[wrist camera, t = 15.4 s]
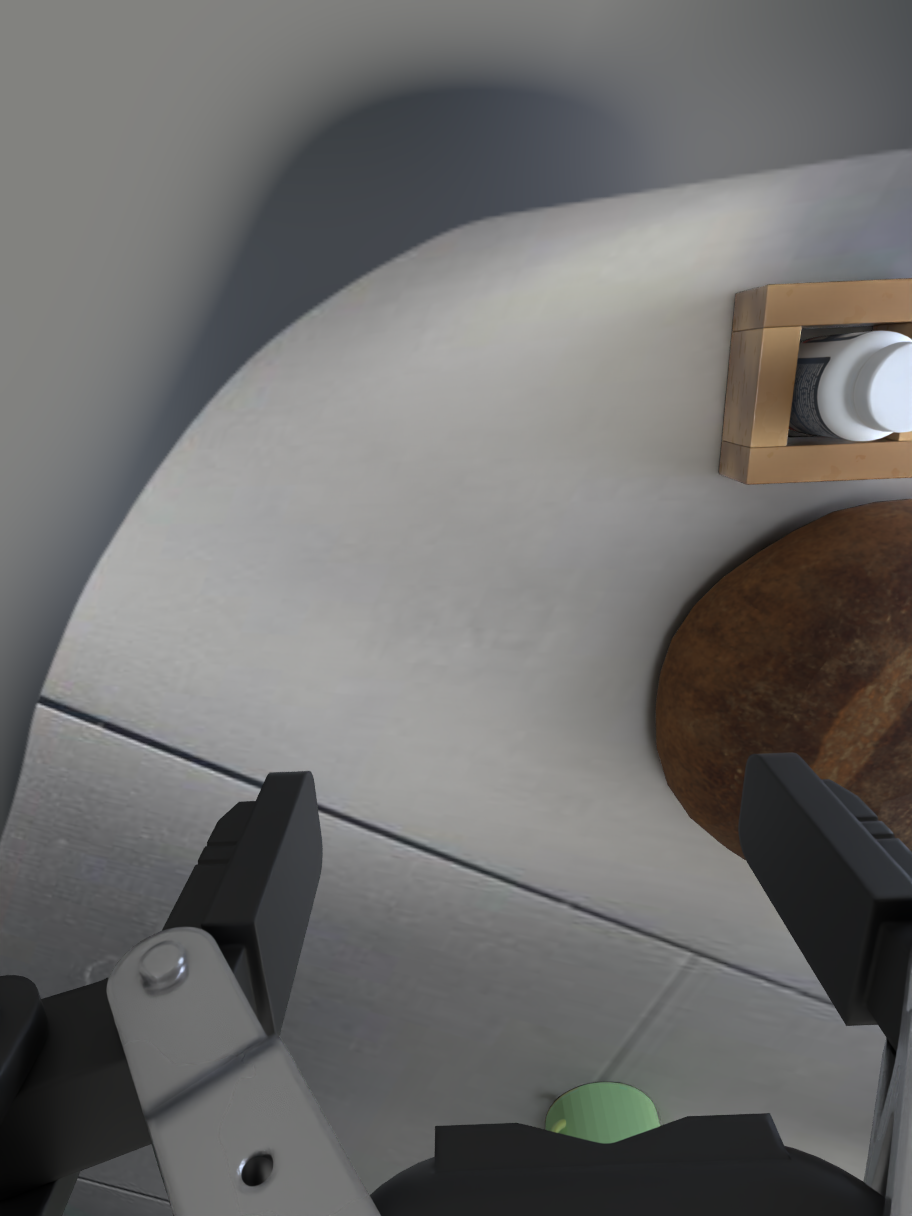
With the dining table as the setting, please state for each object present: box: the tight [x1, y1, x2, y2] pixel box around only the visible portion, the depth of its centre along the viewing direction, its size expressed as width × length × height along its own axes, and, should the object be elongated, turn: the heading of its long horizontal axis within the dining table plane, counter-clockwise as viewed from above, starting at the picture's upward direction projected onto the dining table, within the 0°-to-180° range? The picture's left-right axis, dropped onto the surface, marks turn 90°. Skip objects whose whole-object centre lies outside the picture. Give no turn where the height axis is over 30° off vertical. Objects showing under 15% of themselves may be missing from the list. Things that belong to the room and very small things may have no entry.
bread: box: [656, 499, 912, 860], centre depth 41 cm, size 28×27×9 cm
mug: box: [545, 1082, 660, 1144], centre depth 54 cm, size 13×10×12 cm
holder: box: [719, 278, 912, 485], centre depth 37 cm, size 10×10×4 cm
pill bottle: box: [789, 331, 912, 441], centre depth 34 cm, size 5×5×9 cm
